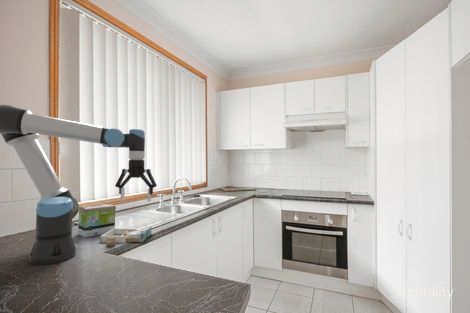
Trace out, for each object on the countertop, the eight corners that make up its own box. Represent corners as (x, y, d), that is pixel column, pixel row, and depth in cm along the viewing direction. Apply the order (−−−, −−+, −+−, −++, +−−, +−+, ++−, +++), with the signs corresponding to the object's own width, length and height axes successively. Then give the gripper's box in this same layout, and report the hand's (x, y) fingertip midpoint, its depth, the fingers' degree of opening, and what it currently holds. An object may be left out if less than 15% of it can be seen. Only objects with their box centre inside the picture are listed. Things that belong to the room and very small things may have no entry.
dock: (125, 242, 115) (125, 236, 115) (99, 242, 115) (99, 236, 115) (136, 234, 129) (136, 228, 129) (113, 233, 129) (113, 228, 129)
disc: (138, 238, 119) (138, 235, 119) (124, 238, 119) (124, 235, 119) (143, 234, 126) (143, 231, 126) (130, 234, 126) (130, 231, 126)
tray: (142, 242, 116) (142, 233, 116) (117, 241, 116) (117, 233, 116) (151, 234, 129) (151, 226, 129) (128, 233, 128) (128, 226, 129)
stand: (112, 247, 109) (112, 239, 109) (104, 246, 109) (105, 239, 109) (116, 244, 113) (116, 236, 113) (108, 244, 113) (109, 236, 113)
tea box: (85, 238, 121) (86, 209, 121) (77, 234, 127) (78, 206, 127) (115, 231, 133) (116, 205, 133) (106, 228, 139) (107, 202, 139)
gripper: (163, 159, 127) (162, 199, 127) (115, 159, 127) (114, 199, 126) (158, 159, 120) (158, 202, 119) (108, 159, 119) (107, 202, 119)
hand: (135, 201), depth 123 cm, fingers open, 13 cm apart
